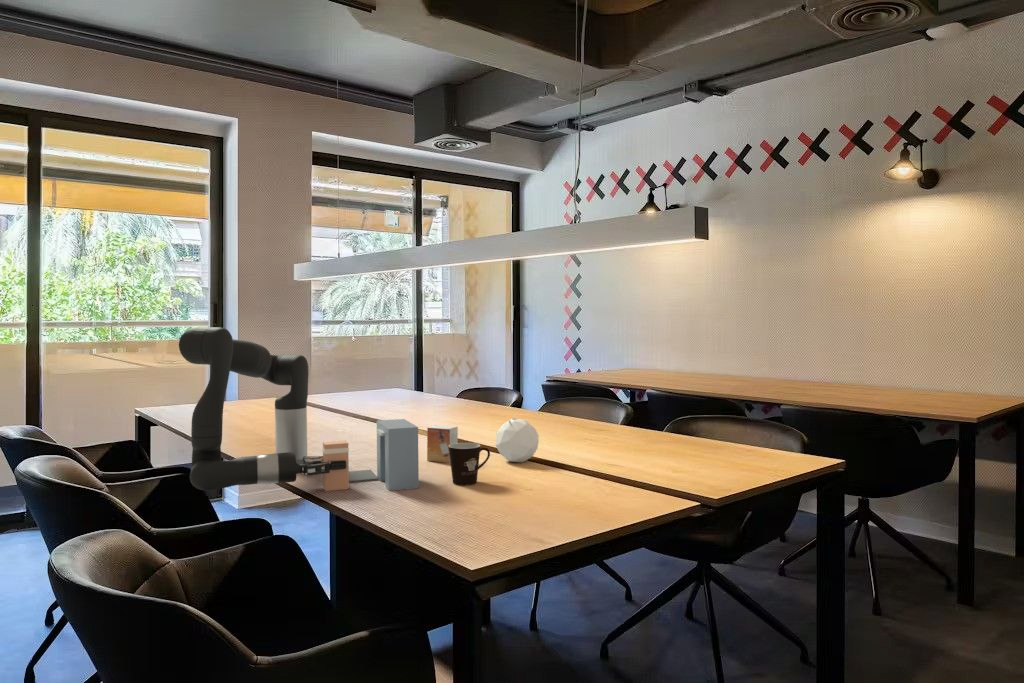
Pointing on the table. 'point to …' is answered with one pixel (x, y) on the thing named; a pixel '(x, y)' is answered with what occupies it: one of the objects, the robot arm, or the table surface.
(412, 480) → the dispenser
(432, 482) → the table surface
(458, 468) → the coffee mug
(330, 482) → the small cardboard carton
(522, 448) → the geodesic sphere
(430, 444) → the small box
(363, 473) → the mat
